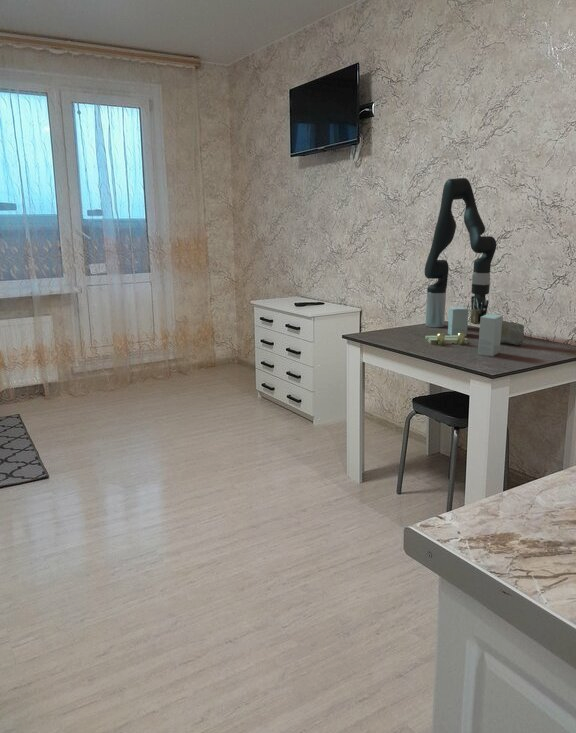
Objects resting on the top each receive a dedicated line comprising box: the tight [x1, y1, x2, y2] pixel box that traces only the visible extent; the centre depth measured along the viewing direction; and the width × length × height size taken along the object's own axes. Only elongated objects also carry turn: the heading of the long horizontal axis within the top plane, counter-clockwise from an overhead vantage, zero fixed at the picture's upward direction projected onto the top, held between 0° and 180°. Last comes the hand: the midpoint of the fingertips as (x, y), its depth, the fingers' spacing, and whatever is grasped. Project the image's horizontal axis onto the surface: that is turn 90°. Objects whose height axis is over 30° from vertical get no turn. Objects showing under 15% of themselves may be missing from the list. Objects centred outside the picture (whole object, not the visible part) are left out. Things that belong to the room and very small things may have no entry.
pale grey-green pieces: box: [424, 334, 469, 345], centre depth 265 cm, size 10×16×2 cm, turn 92°
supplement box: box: [447, 306, 469, 337], centre depth 280 cm, size 7×7×13 cm
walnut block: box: [469, 308, 487, 325], centre depth 266 cm, size 5×5×6 cm
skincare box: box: [477, 313, 504, 357], centre depth 239 cm, size 8×7×16 cm
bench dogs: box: [436, 332, 466, 346], centre depth 258 cm, size 3×12×5 cm, turn 95°
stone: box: [500, 320, 525, 346], centre depth 257 cm, size 14×6×10 cm, turn 30°
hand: (478, 320), depth 267 cm, fingers closed on walnut block, 5 cm apart
